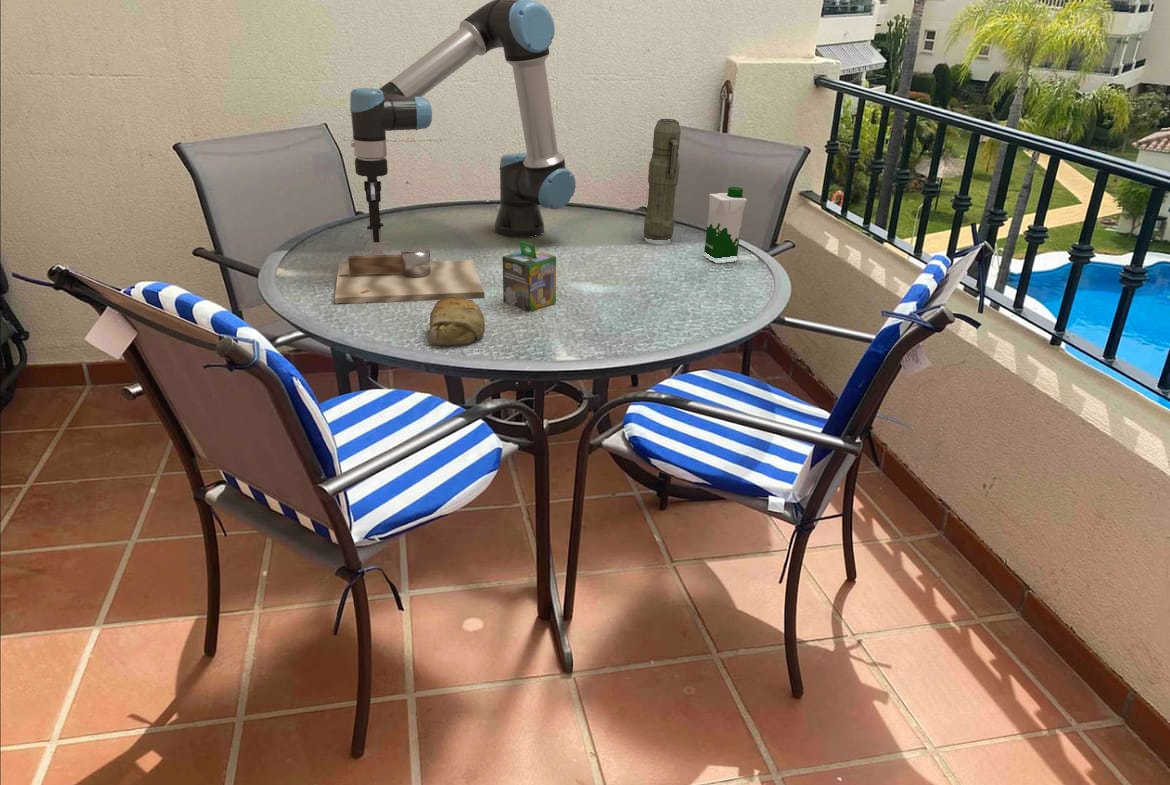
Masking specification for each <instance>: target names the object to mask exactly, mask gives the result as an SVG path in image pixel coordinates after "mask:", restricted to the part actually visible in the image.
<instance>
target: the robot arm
mask: <svg viewBox="0 0 1170 785" xmlns="http://www.w3.org/2000/svg"><path fill="white" fill-rule="evenodd" d="M555 28H556V27H555V22H554V18H553V16H552V14H551V12H550V11H549V9H548V8H547V7H546V6H544V4H542V3H541V2H539V1H534V0H491V1H489V2H487V3H485V4H484V5H482V6H481V7H480V8H477V10H475V11H474V12H473V13H471V14H470V15H469V16H467V17H466V18H464V19H463V20H461V21H460V22H459V28H458V29H457V30H456V31H454V32H453V33H452V34H451V35H449V36H448V37H446V38H445V39H444V40H443V41H441V42H440V43H438V44H437V45H436V46H435V47H433V48H432V49H431V50H429V51H427V52H426V53H425V54H424V55H422V56H421V57H420V58H419V59H418V60H416V61H414V63H412V64H410V65H409V66H408V67H407V68H405V69H404V70H402V72H400V73H399V74H397V75H396V76H395V77H393V78H392V79H391V80H389V81H388V82H386V83H385V84H384V85H383V86H381V87H380V88H371V87H357V88H354V89H352V90H351V91H350V100H349V103H350V109H349V110H350V116H351V124H352V125H351V127H352V128H351V129H352V139H353V142H351V144H350V147H351V148H354V149H353V150H354V151H353V152H354V153H353V154H354V156H355V157H356V158H355V159H354V167H355V168H354V170H355V174H356V175H358V176H360V177H366V178H367V179H366V180H364V181H363V184H364V185H363V187H364V191H365V198H366V199H365V200H366V202H367V203H368V212H369V214H368V216H369V225H367V227H366V229H367V230H369V233H370V234H369V235H370V249H371V255H384V252H383V251H384V250H383V239H382V238H383V237H382V227H384V223H383V222H381V220H382V219H381V216H380V202H381V201H382V200H381V198H382V197H381V192H382V183H381V182H382V181H381V180H378V177H384V176H386V175H387V174H388V172H389V171H388V160H387V158H386V157H387V156H388V152H387V151H388V150H387V149H388V148H387V137H386V132H391V131H392V132H393V131H410V130H411V131H413V130H414V131H418V130H425V129H428V128H430V126H431V124H432V120H433V109H432V105H431V103H430V101H429V100H428V99H427V98H426V97H425V95H426V94H428V93H429V92H430V91H431V90H432V89H434V88H435V87H436V86H438V85H439V84H441V83H442V82H443V81H445V80H446V79H448V77H450V76H451V75H452V74H454V73H455V72H457V71H458V70H459V69H460V68H461V67H463V66H465V65H466V64H467V63H469V61H471V60H472V59H473V58H474V57H476V56H480V57H481V56H484V55H485V54H487V53H488V52H490V51H491V50H494V49H498V48H499V49H500V48H503V53H504V58H505V61H506V63H508V64H509V65H511V67H512V72H513V78H514V84H515V89H516V95H517V101H518V108H519V113H520V119H521V126H522V130H523V131H522V132H523V137H524V144H525V149H526V152H524V153H523V152H522V153H520V152H519V153H510V154H504V155H503V156H501V158H500V161H499V162H500V163H499V177H500V178H499V179H500V181H499V182H500V184H499V186H500V187H499V188H500V189H499V190H500V194H499V196H500V199H499V202H500V205H499V209H498V212H497V215H496V218H495V221H494V232H495V233H496V234H498V235H501V236H505V237H510V238H530V237H529V236H534V237H536V236H535V235H538V236H540V235H539V234H541V233H543V232H544V233H545V223H544V219H543V216H542V215H543V214H542V213H541V209H540V206H541V207H542V208H545V209H551V210H558V209H561V208H563V207H565V206H567V205H568V203H569V202H570V201H571V199H572V197H573V196H574V194H575V191H576V186H577V183H576V178H575V175H574V174H573V172H572V171H570V169H566V168H567V167H566V162H565V156H564V154H562V153H561V152H560V151H559V150H558V144H557V143H558V142H557V137H556V136H557V135H556V130H555V122H554V116H553V108H552V102H551V97H550V96H551V95H550V88H549V82H548V76H547V75H548V74H547V67H546V60H547V58H548V57H549V55H550V48H549V47H550V46H551V45H552V43H553V39H554V38H555V32H556V31H555ZM544 233H543V234H544ZM541 235H542V234H541Z"/></svg>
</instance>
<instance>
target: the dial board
mask: <svg viewBox="0 0 1170 785" xmlns="http://www.w3.org/2000/svg"><path fill="white" fill-rule="evenodd" d="M430 266H431V273H430V274H429V275H426V276H421V277H410V276H406V275H404V274H402V273H373V274H350V271H349V263H339V264H338V268H337V278H336V284H335V285H336V286H335V293H334V301H335V303H350V304H367V303H366V302H374V303H390V302H391V303H392V302H393V303H394V302H395V303H396V302H417V301H421V302H422V301H439V300H441V299H444V298H449V297H456V298H462V299H466V300H472V299H485V290H484V288H483V284H482V282H481V279H480V277H479V274H478V271H477V268H476V266H475V264H474V261H473V260H472V259H469V260H468V259H467V260H463V259H462V260H438V261H437V260H436V261H435V260H433V261H431V260H430ZM359 302H360V303H359Z"/></svg>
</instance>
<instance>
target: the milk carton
mask: <svg viewBox="0 0 1170 785" xmlns="http://www.w3.org/2000/svg"><path fill="white" fill-rule="evenodd" d="M743 191H744V188H742V187H739V186H730V187H728V188H727V192H725V193H724V192H718V193H709V194H708V199H709V200H708V203H709V204H708V216H707V224H706V225H707V226H706V233H705V240H704V249H703V251H704V252H706V253H707V254H709V255H710V256H712V257H714V258H722V257H730V256H737V255H739V246H740V237H741V236H740V235H741V230H742V229H741V228H742V222H743V221H742V220H743V215H744V211H745V207H746V204H747V202H748V199H747V198H746V197H744V196H743V193H744V192H743ZM704 252H703V253H704ZM737 257H738V256H737Z"/></svg>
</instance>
